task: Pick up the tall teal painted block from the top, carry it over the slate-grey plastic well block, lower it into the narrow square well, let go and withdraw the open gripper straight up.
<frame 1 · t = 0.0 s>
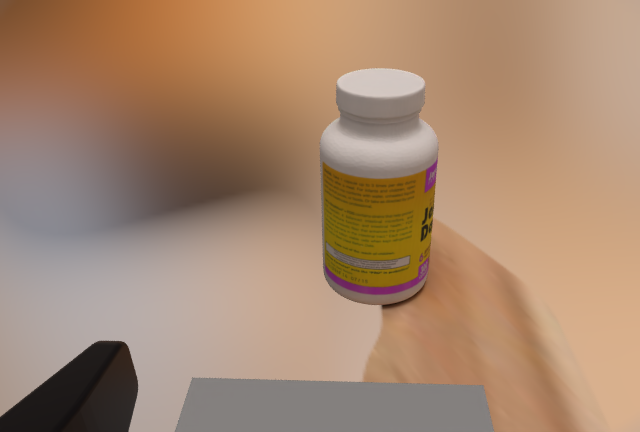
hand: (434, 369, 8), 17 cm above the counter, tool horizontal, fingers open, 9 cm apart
supplement bottle: (375, 278, 37), on the counter
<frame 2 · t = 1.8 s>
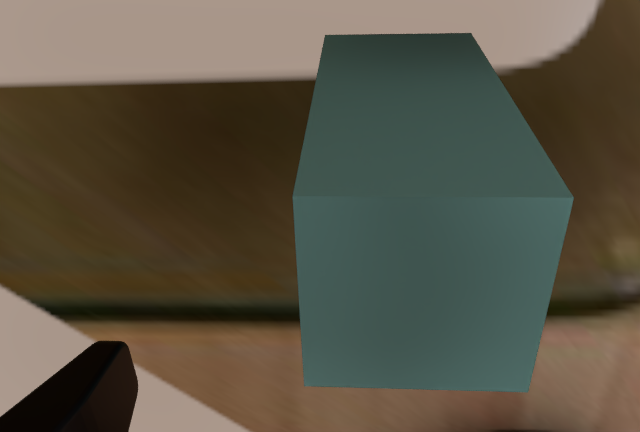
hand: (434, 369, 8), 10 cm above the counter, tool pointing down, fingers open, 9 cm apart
teal block: (394, 103, 17), on the counter
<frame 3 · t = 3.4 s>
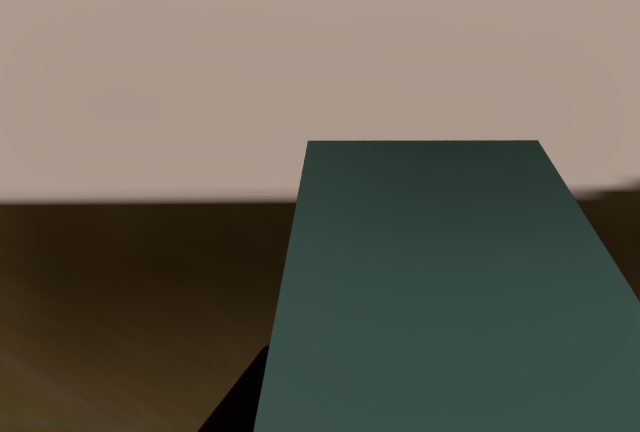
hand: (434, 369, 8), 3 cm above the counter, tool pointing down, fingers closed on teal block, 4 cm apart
teal block: (414, 235, 11), on the counter, touching gripper
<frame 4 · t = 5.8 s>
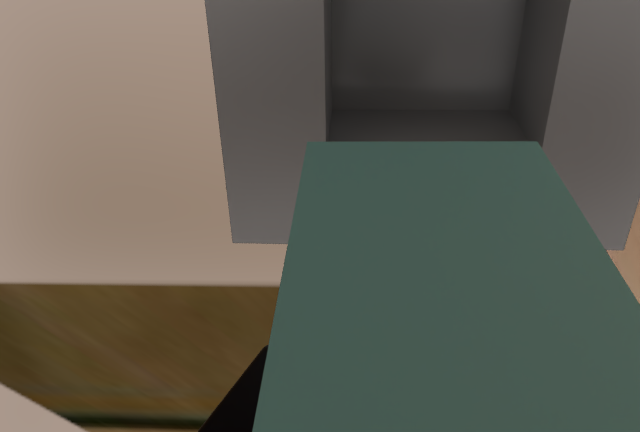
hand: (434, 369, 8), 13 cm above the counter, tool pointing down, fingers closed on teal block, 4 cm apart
teal block: (414, 236, 11), point 10 cm above the counter, touching gripper
well block: (424, 15, 19), on the counter
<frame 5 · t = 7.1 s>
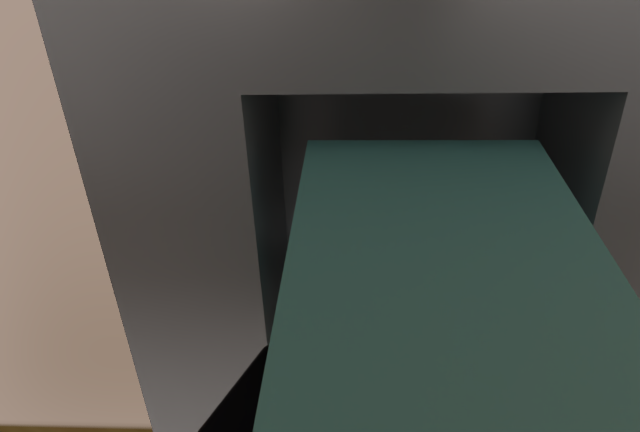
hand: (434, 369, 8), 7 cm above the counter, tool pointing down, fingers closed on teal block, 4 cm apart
teal block: (415, 235, 11), point 4 cm above the counter, touching gripper
well block: (403, 146, 14), on the counter
when the fingers open (5 cm above the counter, at t = 8.2 s): teal block drops 1 cm, resting on well block.
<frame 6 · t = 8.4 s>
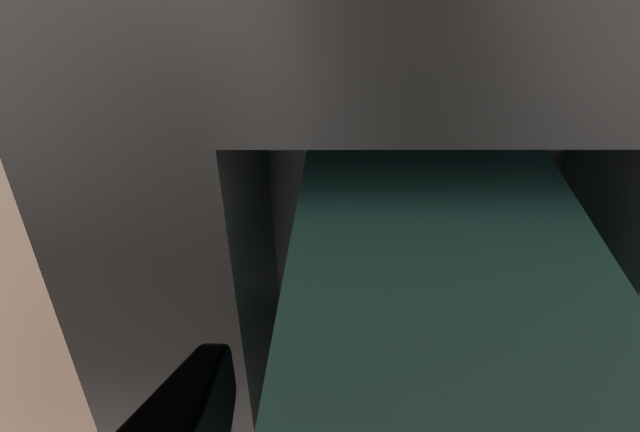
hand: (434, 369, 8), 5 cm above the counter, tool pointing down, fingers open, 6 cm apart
teal block: (411, 199, 12), point 1 cm above the counter, touching well block
well block: (408, 185, 13), on the counter
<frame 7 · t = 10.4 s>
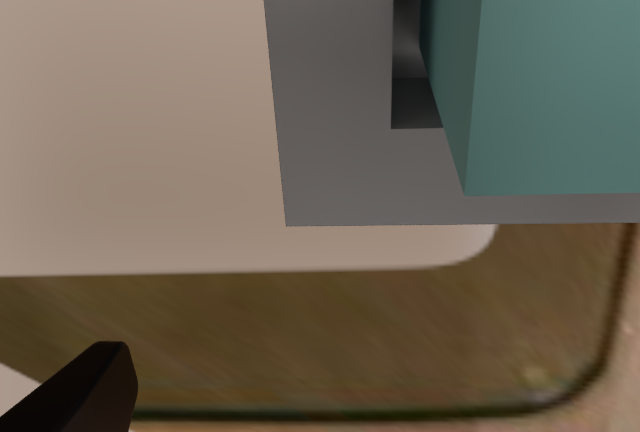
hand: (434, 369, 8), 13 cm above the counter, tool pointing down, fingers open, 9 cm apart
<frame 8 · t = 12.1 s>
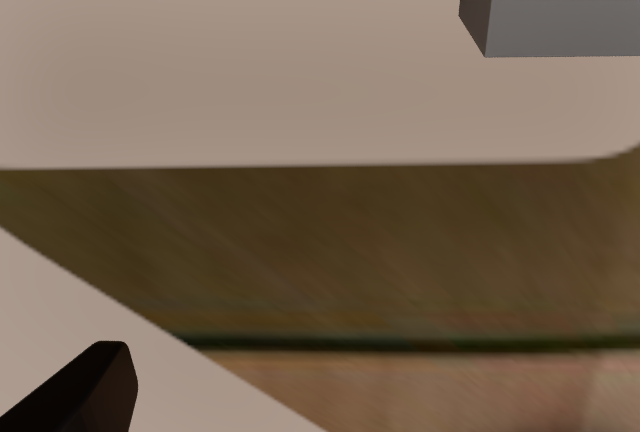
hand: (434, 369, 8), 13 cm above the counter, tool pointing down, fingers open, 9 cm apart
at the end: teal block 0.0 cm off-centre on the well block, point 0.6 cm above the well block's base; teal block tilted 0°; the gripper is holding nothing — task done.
